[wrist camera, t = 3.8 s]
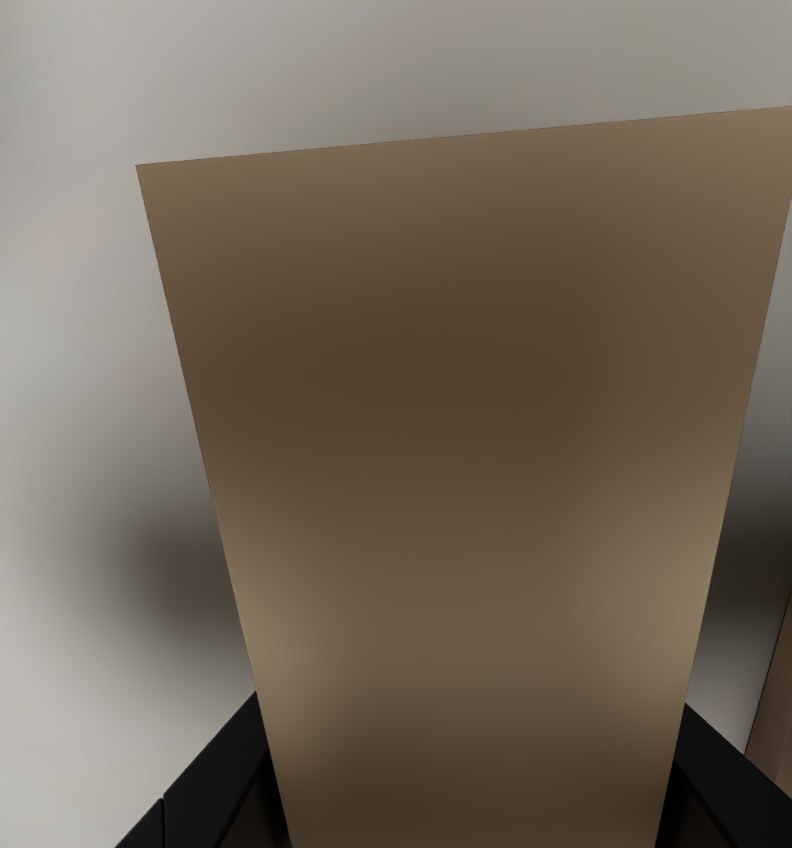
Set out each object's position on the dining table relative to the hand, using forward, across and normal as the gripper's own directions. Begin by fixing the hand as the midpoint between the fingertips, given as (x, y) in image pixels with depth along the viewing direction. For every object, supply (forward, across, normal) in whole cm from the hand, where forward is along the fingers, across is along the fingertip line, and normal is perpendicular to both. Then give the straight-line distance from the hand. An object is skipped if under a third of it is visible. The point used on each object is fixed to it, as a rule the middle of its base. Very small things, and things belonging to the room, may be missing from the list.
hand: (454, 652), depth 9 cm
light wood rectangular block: (+1, 0, 0) cm, 1 cm away
